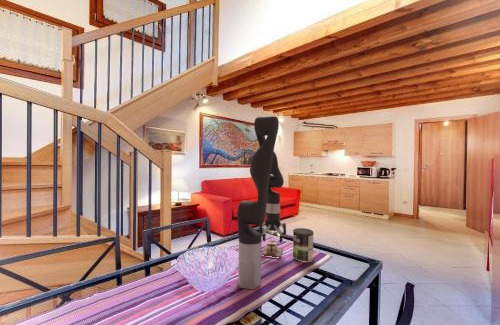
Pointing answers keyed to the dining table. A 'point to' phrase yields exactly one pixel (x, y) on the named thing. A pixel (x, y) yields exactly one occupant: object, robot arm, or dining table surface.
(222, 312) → the dining table surface
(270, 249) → the letter cube
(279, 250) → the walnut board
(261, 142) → the robot arm
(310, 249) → the coffee can
